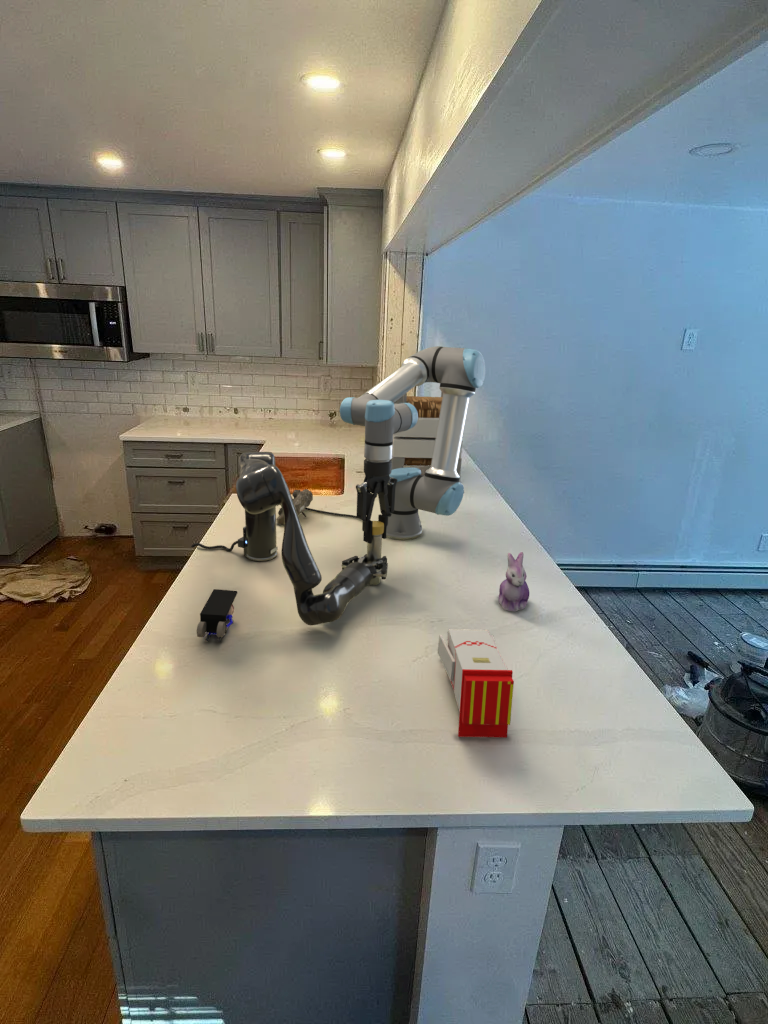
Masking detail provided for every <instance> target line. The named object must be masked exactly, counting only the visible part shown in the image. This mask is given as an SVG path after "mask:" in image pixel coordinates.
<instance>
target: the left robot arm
mask: <svg viewBox="0 0 768 1024" xmlns="http://www.w3.org/2000/svg"><path fill="white" fill-rule="evenodd" d="M237 472H238V478H237V479H236V481H235V493H236V496H237V499H238V501H239V504H240V505H241V506H242V508H243V509H244V520H245V522H244V523H245V526H243V527H242V535H243V536H242V537H240V538H237V540H236V541H233V542H232V544H231V546H230V547H227V546H225V545H221V544H218V545H212V546H211V545H210V546H208V545H204V544H203V543H200V542H194V543H193V544H192V545H191V546H190V548H195V547H200V548H201V549H203V550H204V549H205V550H215V549H223V550H224V551H226V552H232V551H233V550H234V548H235V546H236V545H237V547H238V548H242V549H243V556H244V557H246V558H247V559H248V560H250V561H254V562H268V561H271V560H273V559H275V558H276V557H278V550H279V549H278V546H277V510H276V509H277V508H276V507H278V506H280V508H281V507H282V510H283V514H284V525H283V535H282V536H283V537H282V542H281V543H282V544H281V552H280V553H281V555H280V556H281V563H282V565H283V567H284V571H286V574H287V576H288V579H289V580H290V582H291V585H292V587H293V592H294V597H295V603H296V609H297V614H298V615H299V618H300V620H301V621H302V622H303V623H304V624H306V625H308V626H317V625H322V624H328V623H333V622H336V621H337V620H339V619H340V618H342V616H343V614H344V612H345V610H346V608H347V605H348V603H350V602H351V601H352V600H353V599H354V598H357V596H358V595H359V594H360V593H361V592H363V590H365V589H366V588H367V586H369V583H370V581H371V580H372V579H374V578H376V576H378V577H380V578H381V580H384V581H385V580H386V579H387V575H388V569H389V567H388V566H389V563H388V558H387V555H383V556H381V559H380V560H379V561H377V562H375V561H374V562H372V563H370V564H367V553H366V554H364V555H362V556H360V557H359V556H358V555H354V556H351V557H349V558H346V559H344V560H342V561H341V571H339V572H338V573H337V574H336V576H335V577H334V578H332V579H331V581H329V582H328V583H327V584H326V585H325V586H324V588H323V590H322V592H321V593H318V594H314V592H313V589H314V588H316V587H318V586H319V585H320V583H321V582H322V579H323V577H322V574H321V571H320V569H319V567H318V565H317V562H316V560H315V558H314V556H313V554H312V552H311V551H312V550H311V549H310V547H309V543H308V541H307V538H306V535H305V532H304V530H303V529H304V528H303V526H302V523H301V519H300V517H299V516H300V515H299V516H298V513H297V510H296V508H295V505H294V502H293V499H294V498H293V495H292V494H291V491H290V489H289V486H288V483H287V481H286V479H285V477H284V475H283V473H282V471H281V470H280V468H279V467H278V466H277V464H276V457H275V454H274V453H273V452H271V451H246V452H243V453H241V454H240V456H239V457H238V460H237ZM380 570H381V571H380ZM378 571H379V572H378Z"/></svg>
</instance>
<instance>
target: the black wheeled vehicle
mask: <svg viewBox="0 0 768 1024" xmlns="http://www.w3.org/2000/svg"><path fill="white" fill-rule="evenodd" d="M237 595H238V590H233V589H220V588H219V589H217V588H213V589H212V591H211V593H210V595H209V596H208V599H207V600H206V602H205V604H204V605H203V607H202V609H201V611H200V612H199V622H198V624H197V628H196V637H199V638H204V637H205V635H206V633H207V635H206V637H205V639H204V640H205V642H206V643H207V642H209V641H210V638H211V636H212V635H213V636H216V637H217V642H221V641H222V639H223V638H224V637H225V635H227V633H228V631H227V630H228V629H229V627H231V626H232V625H233V623H234V621H233V615H234V613H235V606H234V602H235V600H236V597H237ZM227 620H229V622H228V621H227ZM227 622H228V623H227Z"/></svg>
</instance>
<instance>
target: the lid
mask: <svg viewBox="0 0 768 1024" xmlns="http://www.w3.org/2000/svg"><path fill="white" fill-rule="evenodd" d="M372 521H373V525H372V535H380V534H383V533H384V523H383V522H380V521H378V520H372Z"/></svg>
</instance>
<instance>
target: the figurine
mask: <svg viewBox="0 0 768 1024" xmlns="http://www.w3.org/2000/svg"><path fill="white" fill-rule="evenodd" d="M506 556H507V569H506V571H505V579H504V580H502V581H501V583H500V585H499V591H498V592H499V593H498V597H497V598H498V600H497V601H498V604H499V605H500V606H501V607H502V609H503V610H505V611H507V612H508V611H509V612H518V611H520V610H521V611H522V610H524V609H525V608H526V607H527V605H528V601H529V599H530V588H529V585H528V584H527V581H526V580H527V571H526V570H525V567H524V552H523V551H520V552H519V553H518V555H517V557H516V559H515V557H514V556H513V554H512V553H511V552H508V553H507V555H506Z"/></svg>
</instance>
